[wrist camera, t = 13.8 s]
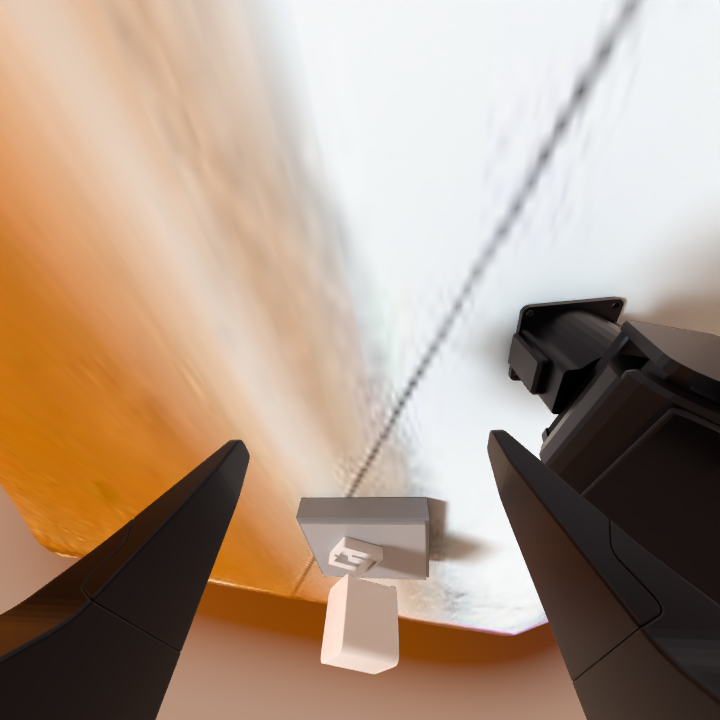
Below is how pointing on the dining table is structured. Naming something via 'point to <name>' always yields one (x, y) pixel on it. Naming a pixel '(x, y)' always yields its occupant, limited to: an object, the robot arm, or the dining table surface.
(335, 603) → the security camera
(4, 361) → the dining table surface
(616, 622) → the robot arm
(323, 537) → the grey square slab
